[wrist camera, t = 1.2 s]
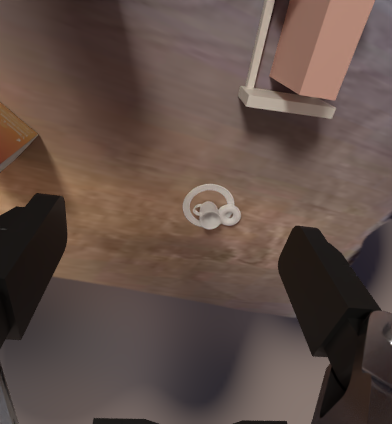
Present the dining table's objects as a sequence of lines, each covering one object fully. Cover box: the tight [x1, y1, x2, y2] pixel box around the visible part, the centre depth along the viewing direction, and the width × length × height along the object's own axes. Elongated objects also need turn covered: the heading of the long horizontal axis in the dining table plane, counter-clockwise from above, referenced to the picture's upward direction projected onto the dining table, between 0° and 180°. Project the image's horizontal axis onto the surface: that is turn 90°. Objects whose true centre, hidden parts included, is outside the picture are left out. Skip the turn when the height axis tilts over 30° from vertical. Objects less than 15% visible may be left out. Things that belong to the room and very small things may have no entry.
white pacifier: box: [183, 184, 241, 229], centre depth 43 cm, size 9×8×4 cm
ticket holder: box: [238, 0, 336, 119], centre depth 30 cm, size 14×10×6 cm
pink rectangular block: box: [270, 0, 375, 100], centre depth 28 cm, size 8×4×10 cm, turn 172°
